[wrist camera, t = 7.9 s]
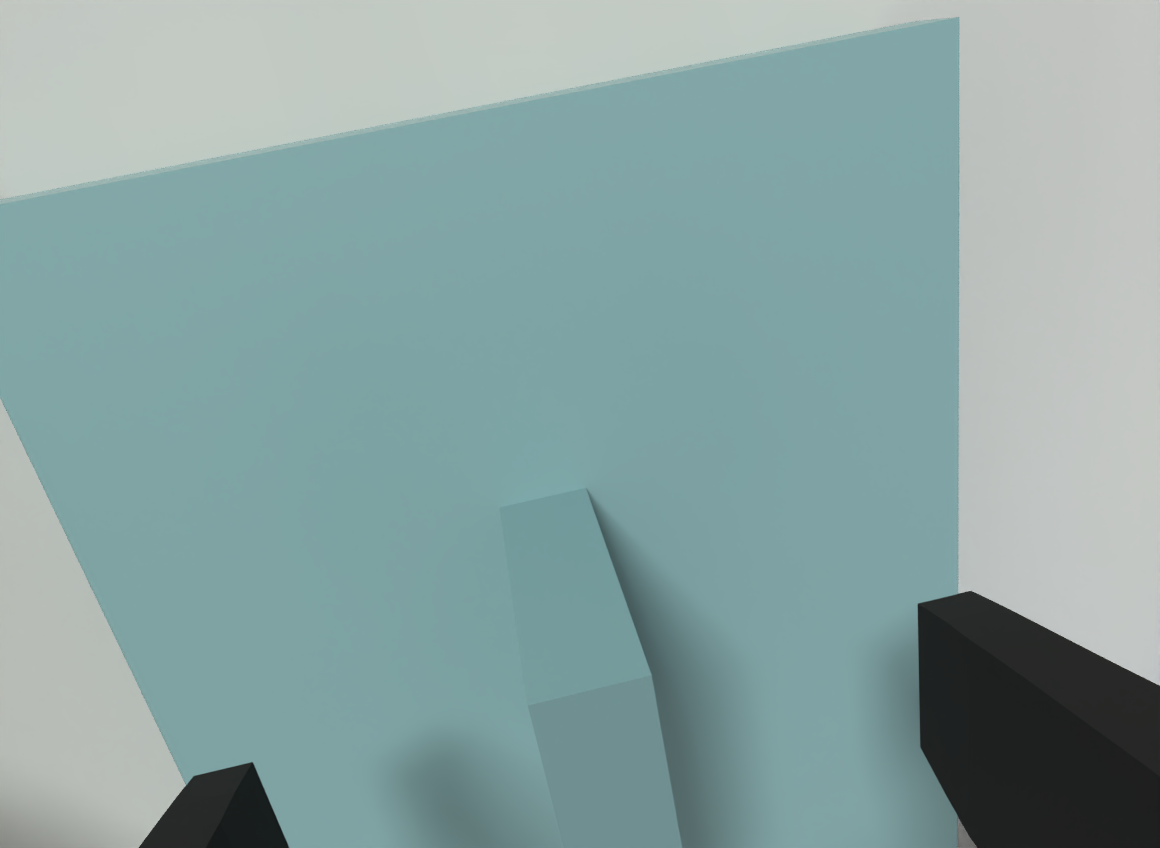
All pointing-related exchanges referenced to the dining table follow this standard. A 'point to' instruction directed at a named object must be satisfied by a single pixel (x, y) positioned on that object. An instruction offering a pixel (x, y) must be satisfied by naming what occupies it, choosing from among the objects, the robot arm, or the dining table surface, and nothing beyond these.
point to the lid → (528, 453)
